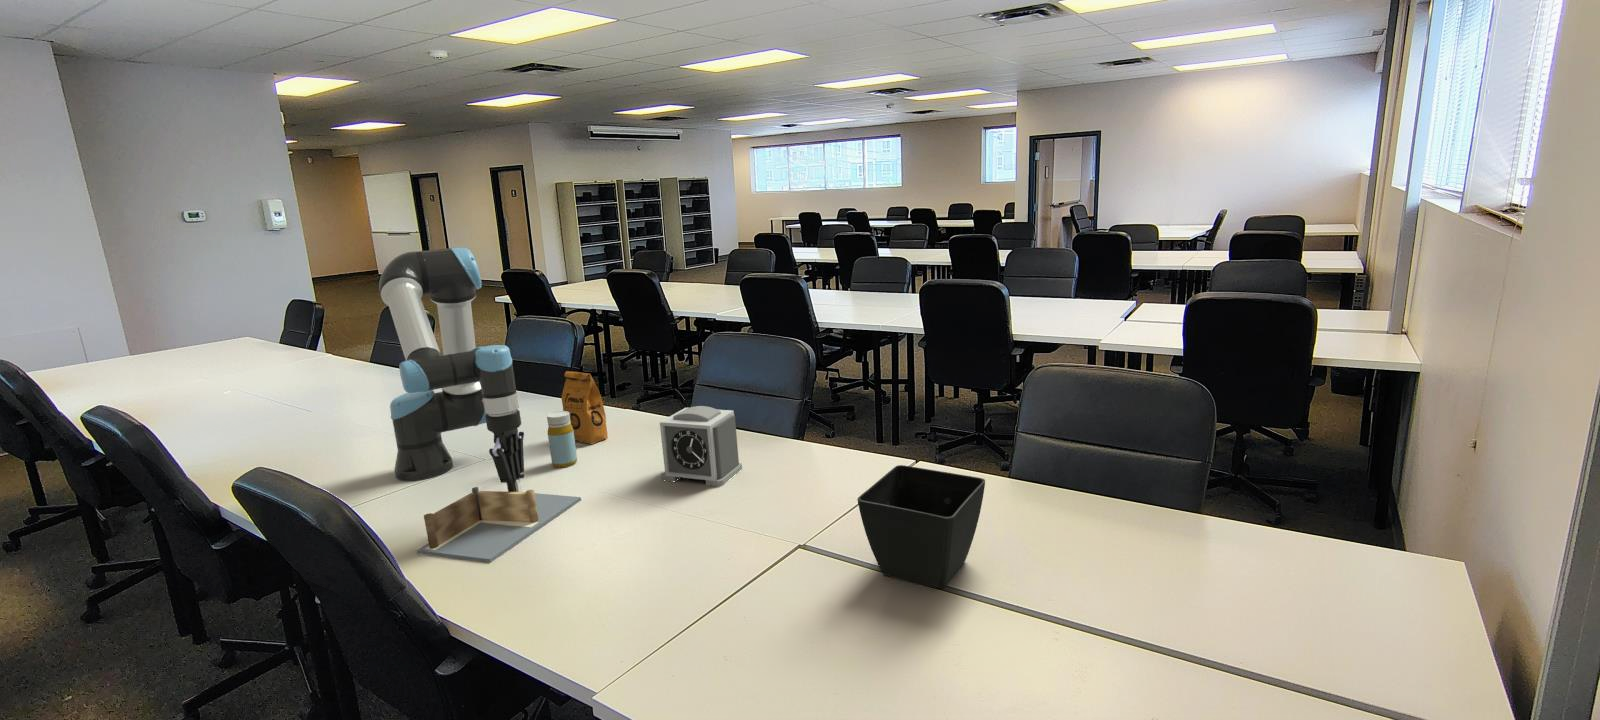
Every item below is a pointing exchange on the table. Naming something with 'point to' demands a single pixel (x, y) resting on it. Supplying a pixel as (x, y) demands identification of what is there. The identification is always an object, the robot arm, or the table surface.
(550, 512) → the board
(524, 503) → the panel
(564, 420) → the bottle
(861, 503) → the flower pot
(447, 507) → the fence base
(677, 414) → the alarm clock
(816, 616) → the table surface
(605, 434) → the coffee package
